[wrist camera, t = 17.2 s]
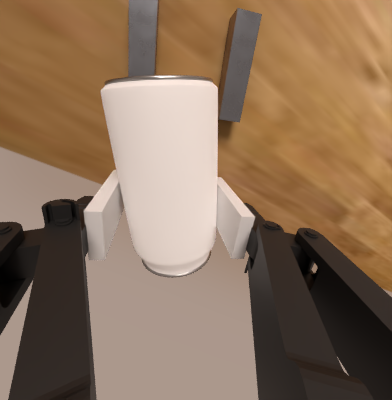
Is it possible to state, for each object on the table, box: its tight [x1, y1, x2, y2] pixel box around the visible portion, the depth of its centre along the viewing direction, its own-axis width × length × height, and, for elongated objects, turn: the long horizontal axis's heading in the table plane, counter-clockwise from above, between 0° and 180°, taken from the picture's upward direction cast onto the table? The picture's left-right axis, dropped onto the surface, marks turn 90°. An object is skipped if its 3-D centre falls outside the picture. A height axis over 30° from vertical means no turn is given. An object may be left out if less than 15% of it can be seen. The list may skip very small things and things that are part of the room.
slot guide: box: [129, 0, 262, 122], centre depth 26 cm, size 15×12×3 cm
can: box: [101, 75, 218, 277], centre depth 14 cm, size 6×6×12 cm
